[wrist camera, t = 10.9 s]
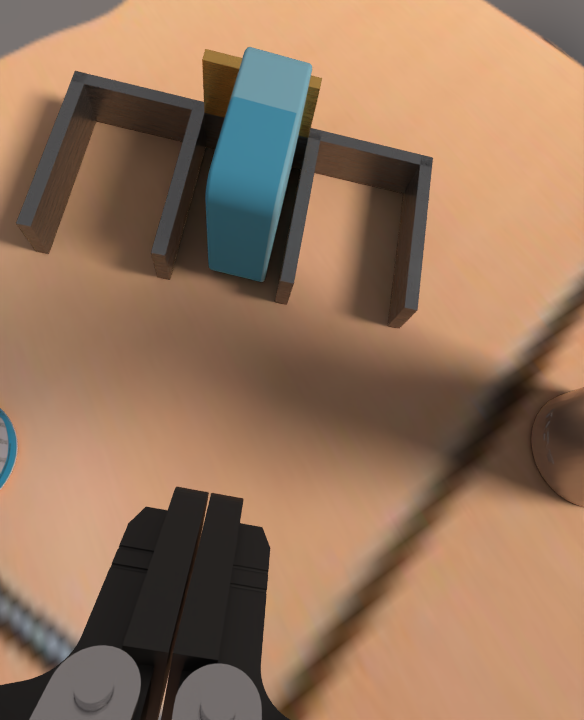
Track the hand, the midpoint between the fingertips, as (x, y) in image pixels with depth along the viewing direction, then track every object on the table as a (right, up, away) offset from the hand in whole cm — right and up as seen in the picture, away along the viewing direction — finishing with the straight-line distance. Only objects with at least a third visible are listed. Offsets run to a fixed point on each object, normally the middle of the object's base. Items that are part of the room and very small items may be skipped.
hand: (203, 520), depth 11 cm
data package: (-1, +15, +32) cm, 35 cm away
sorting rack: (-2, +16, +31) cm, 35 cm away
